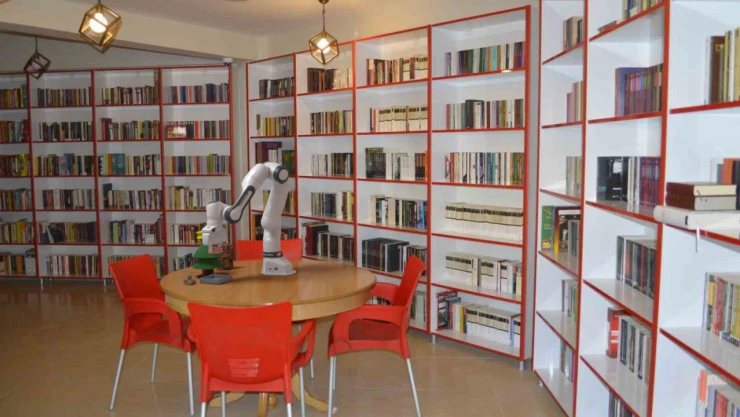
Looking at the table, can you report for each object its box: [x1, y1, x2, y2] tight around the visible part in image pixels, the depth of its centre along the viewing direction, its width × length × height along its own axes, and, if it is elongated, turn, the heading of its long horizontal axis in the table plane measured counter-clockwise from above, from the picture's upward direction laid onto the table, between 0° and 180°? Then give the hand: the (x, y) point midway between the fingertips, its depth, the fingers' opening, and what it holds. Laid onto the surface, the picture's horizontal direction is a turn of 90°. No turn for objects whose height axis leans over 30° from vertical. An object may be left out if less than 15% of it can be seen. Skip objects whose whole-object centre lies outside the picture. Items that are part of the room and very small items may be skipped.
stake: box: [182, 271, 197, 286], centre depth 357 cm, size 5×5×7 cm
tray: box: [199, 273, 233, 286], centre depth 364 cm, size 14×14×3 cm
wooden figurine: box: [216, 242, 235, 271], centre depth 403 cm, size 12×6×18 cm, turn 100°
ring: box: [208, 246, 223, 254], centre depth 362 cm, size 6×6×3 cm
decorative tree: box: [191, 230, 223, 278], centre depth 380 cm, size 19×19×30 cm
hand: (215, 250), depth 362 cm, fingers closed on ring, 6 cm apart
